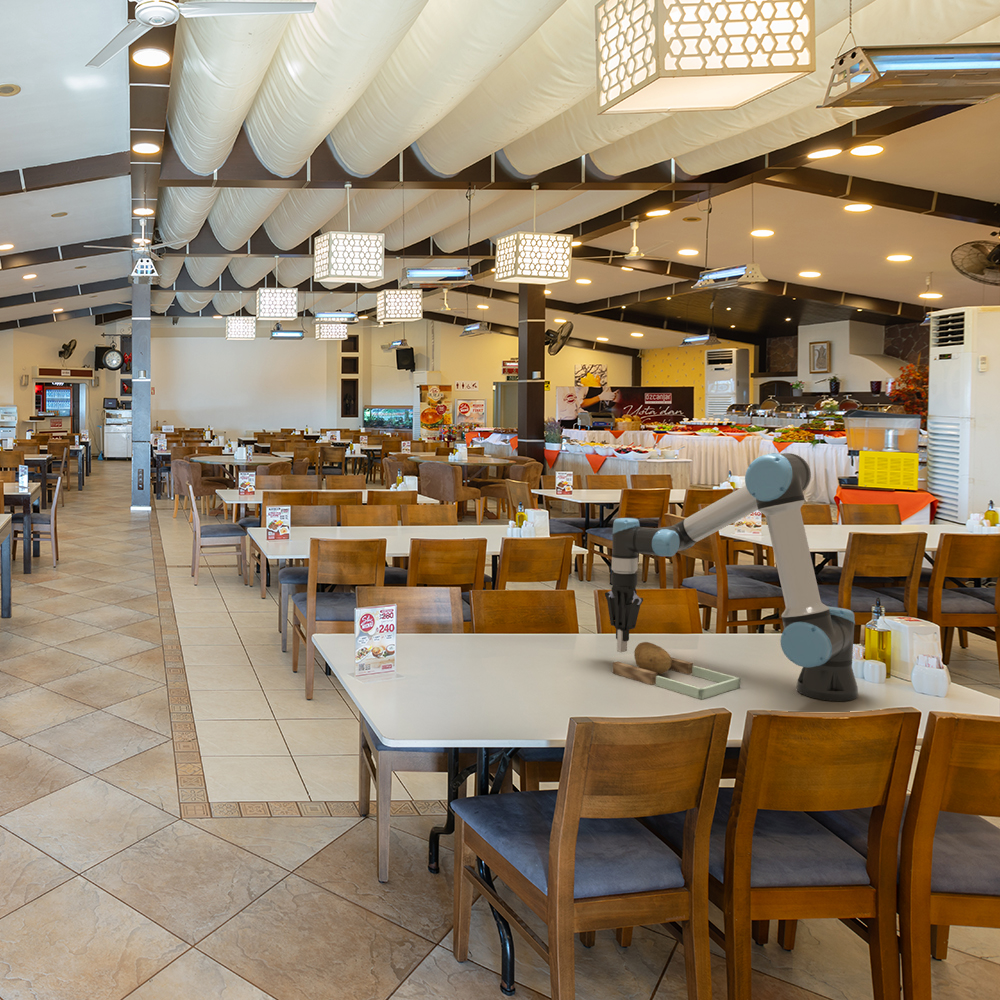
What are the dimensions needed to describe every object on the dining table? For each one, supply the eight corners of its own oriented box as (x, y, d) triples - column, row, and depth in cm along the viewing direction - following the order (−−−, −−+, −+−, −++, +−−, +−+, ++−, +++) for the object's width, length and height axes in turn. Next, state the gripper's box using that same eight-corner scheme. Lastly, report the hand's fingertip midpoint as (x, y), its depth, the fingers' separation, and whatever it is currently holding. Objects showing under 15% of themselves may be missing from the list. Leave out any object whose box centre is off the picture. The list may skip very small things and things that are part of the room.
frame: (740, 687, 234) (740, 678, 234) (701, 699, 223) (702, 689, 223) (694, 674, 246) (694, 665, 246) (655, 685, 235) (656, 676, 235)
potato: (648, 681, 238) (649, 653, 238) (626, 667, 252) (627, 640, 251) (680, 679, 241) (681, 650, 240) (656, 665, 254) (657, 638, 254)
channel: (692, 673, 247) (692, 663, 247) (651, 684, 235) (651, 673, 235) (653, 662, 257) (654, 652, 257) (612, 673, 246) (613, 662, 246)
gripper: (650, 573, 250) (647, 653, 252) (616, 567, 260) (613, 644, 262) (633, 576, 245) (630, 658, 247) (599, 569, 255) (596, 648, 257)
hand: (621, 651), depth 255 cm, fingers closed
